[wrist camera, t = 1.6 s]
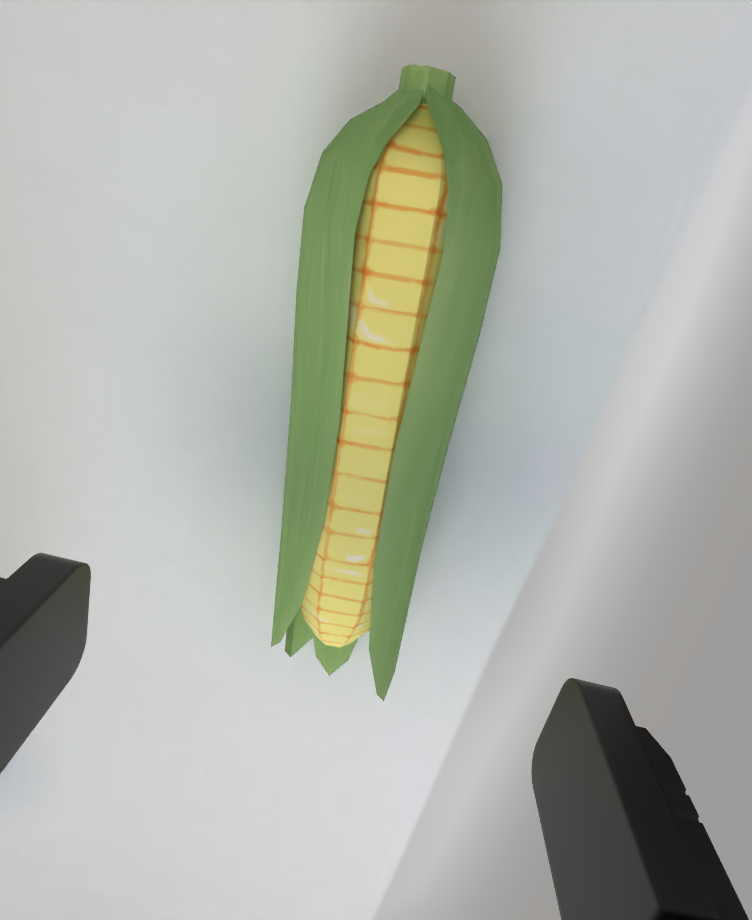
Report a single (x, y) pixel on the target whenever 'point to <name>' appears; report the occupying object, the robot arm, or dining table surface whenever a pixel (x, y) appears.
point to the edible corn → (380, 362)
